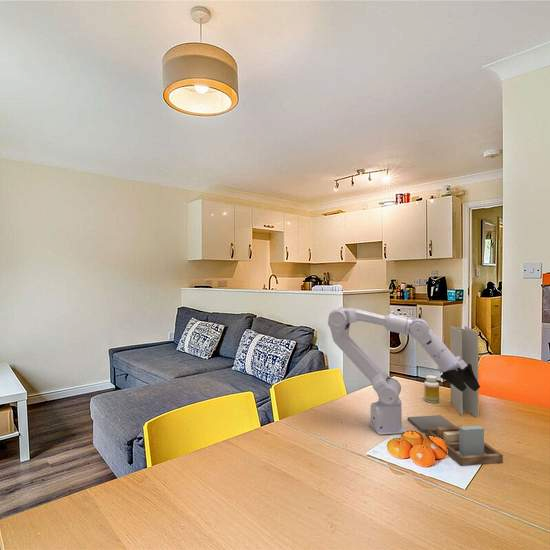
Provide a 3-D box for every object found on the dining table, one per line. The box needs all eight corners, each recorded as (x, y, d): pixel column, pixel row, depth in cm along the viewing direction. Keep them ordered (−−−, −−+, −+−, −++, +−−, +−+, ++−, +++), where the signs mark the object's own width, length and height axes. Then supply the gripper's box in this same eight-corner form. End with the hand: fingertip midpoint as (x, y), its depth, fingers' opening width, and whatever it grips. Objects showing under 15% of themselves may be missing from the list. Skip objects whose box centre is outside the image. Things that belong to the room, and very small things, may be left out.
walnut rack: (461, 465, 96) (461, 458, 96) (425, 435, 114) (425, 429, 114) (502, 462, 98) (502, 455, 98) (461, 433, 116) (461, 426, 116)
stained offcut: (440, 443, 110) (440, 429, 109) (436, 439, 112) (436, 427, 111) (465, 441, 110) (465, 428, 110) (461, 438, 112) (461, 425, 112)
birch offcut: (447, 448, 106) (447, 435, 106) (443, 445, 108) (443, 432, 108) (472, 446, 107) (472, 433, 107) (468, 443, 109) (468, 430, 109)
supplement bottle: (441, 403, 141) (441, 378, 141) (427, 403, 141) (427, 378, 141) (435, 398, 147) (435, 374, 147) (422, 398, 147) (422, 374, 147)
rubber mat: (422, 432, 116) (422, 429, 116) (407, 419, 126) (407, 417, 126) (457, 430, 118) (457, 427, 118) (440, 417, 128) (440, 415, 128)
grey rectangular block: (463, 458, 100) (463, 429, 100) (459, 455, 102) (459, 426, 102) (484, 457, 101) (483, 428, 101) (479, 453, 103) (479, 425, 103)
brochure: (478, 417, 127) (478, 332, 127) (461, 416, 129) (461, 331, 128) (466, 403, 141) (465, 326, 141) (450, 402, 142) (450, 325, 142)
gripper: (459, 341, 107) (493, 380, 103) (438, 347, 121) (467, 382, 117) (442, 355, 105) (476, 395, 102) (422, 360, 119) (451, 395, 116)
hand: (470, 389), depth 109 cm, fingers open, 7 cm apart
